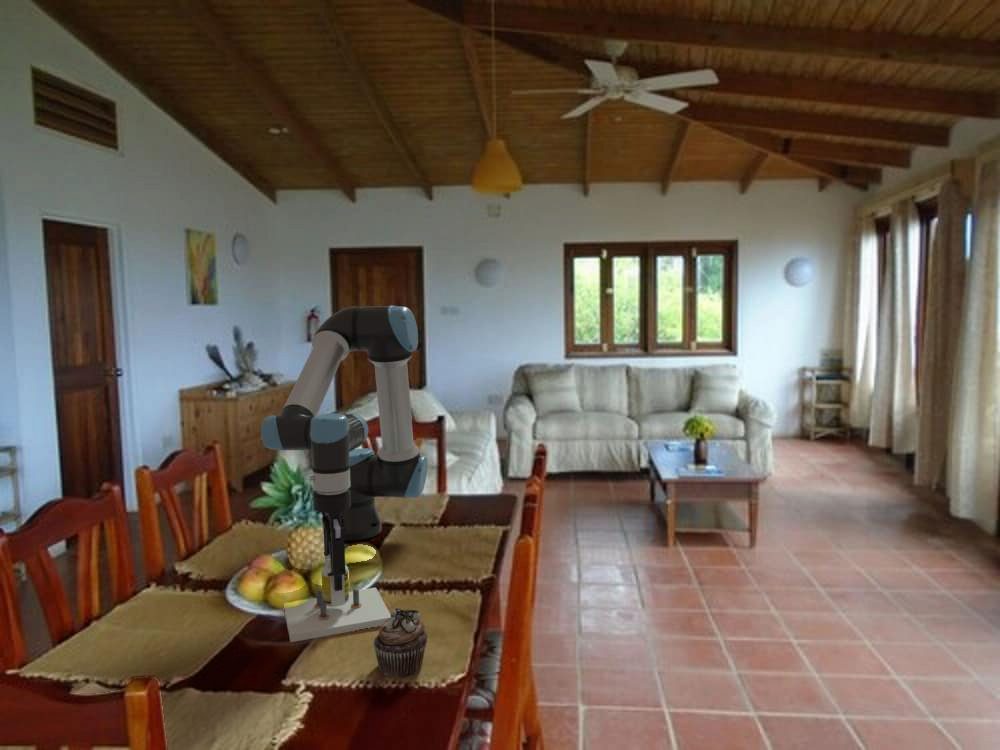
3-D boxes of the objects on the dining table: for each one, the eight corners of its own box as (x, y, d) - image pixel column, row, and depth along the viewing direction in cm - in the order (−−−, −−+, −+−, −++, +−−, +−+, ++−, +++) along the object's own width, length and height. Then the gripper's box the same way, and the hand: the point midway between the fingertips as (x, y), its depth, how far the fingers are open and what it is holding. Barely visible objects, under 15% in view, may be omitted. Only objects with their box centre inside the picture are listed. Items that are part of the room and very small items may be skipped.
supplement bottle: (342, 608, 147) (341, 562, 146) (318, 606, 148) (316, 560, 147) (353, 597, 152) (351, 552, 151) (329, 595, 153) (327, 551, 152)
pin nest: (283, 608, 154) (282, 586, 153) (376, 593, 161) (375, 572, 161) (290, 642, 139) (289, 617, 139) (392, 624, 146) (391, 600, 146)
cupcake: (379, 652, 135) (378, 601, 134) (430, 653, 135) (429, 602, 133) (368, 680, 125) (367, 625, 124) (423, 680, 125) (422, 626, 124)
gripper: (307, 480, 154) (312, 584, 157) (319, 504, 137) (323, 619, 140) (342, 477, 157) (346, 579, 160) (358, 499, 140) (362, 613, 143)
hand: (335, 597), depth 150 cm, fingers closed on supplement bottle, 5 cm apart
